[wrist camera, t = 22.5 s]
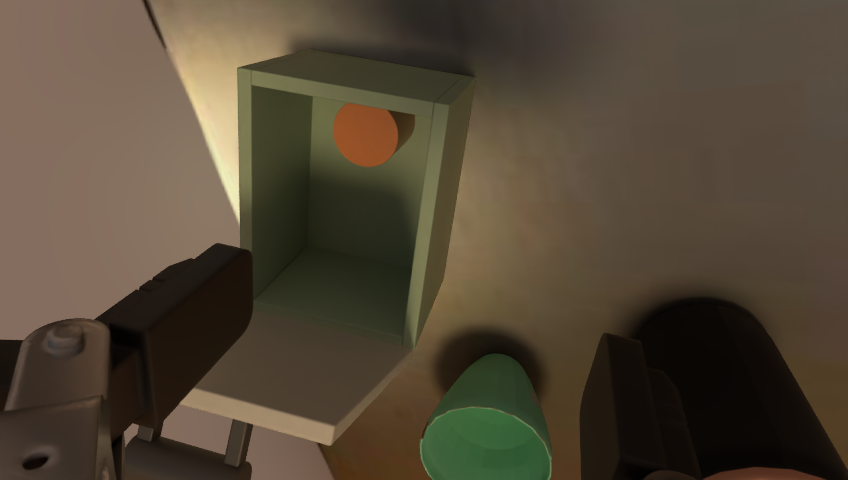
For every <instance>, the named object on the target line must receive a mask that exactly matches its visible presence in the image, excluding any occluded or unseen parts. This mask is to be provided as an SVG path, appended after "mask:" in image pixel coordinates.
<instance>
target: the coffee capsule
mask: <svg viewBox="0 0 848 480" xmlns="http://www.w3.org/2000/svg"><path fill="white" fill-rule="evenodd" d="M414 127H415V115H413V114H407V113H402V112H396V111H391V110H385V109H380V108H374V107H369V106H363V105H358V104H352V103H347V104H346V105H344V106H343V107H342V108H341V109H340V110H339V112H338V113H337V115H336V117H335V120H334V124H333V135H334V140H335V143H336V145H337V147H338V149H339V150H340V152H341V153H342V154H343V155H344V156H345V157H346V158H347V159H348V160H349V161H351V162H353V163H354V164H357V165H360V166H364V167H373V166H378V165H381V164H383V163H384V162H386V161H387V160H388V159H390V158H391V157H392V156H393V155H394V154H395V153H396V152H397V151H398V150H399V149H400V148H401V147H402V146H403V145H404V144H405V143H406V142H407V141H408V139H409V138H410V137H411V135H412V133H413V130H414Z"/></svg>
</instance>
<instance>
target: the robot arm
mask: <svg viewBox="0 0 848 480" xmlns="http://www.w3.org/2000/svg"><path fill="white" fill-rule="evenodd" d="M252 313H253V257H252V254H251V252H250V251H249V250H247V249H242V248H237V247H233V246H229V245H225V244H220V243H217V244H214V245H213V246H211V247H210V248H209V249H207V250H206V251H205V252H203V253H202V254H201V255H199V256H198V257H197V258H195V259H192V258H190V259H187V260H185V261H182V262H179V263H176V264H174V265H171V266H169V267H167V268H166V269H164V270H163V271H161V272H160V273H159V274H157V275H156V276H155V277H153V279H152V280H149V281H147V282H146V283H145V284H143V285H142V286H140V288H139V290H135V291H133V292H132V293H131V294H129V295H128V296H126V297H125V298H124V299H122V300H121V301H119V302H118V303H117V304H115V305H114V306H112V307H111V308H110V309H108V310H107V311H106V312H104V313H103V314H101V315H100V316H98V317H97V318H96V319H94V320H92V319H85V318H75V319H66V320H61V321H57V322H53V323H50V324H47V325H45V326H43V327H41V328H39V329H37V330H35V331H34V332H32V333H31V334H29V335H28V336H27V337H26V338H25V340H0V480H125V440H124V431H125V430H126V429H127V428H128V427H129V426H130V425H131V424H132V423H134V424H137V425H141V426H144V427H148V428H151V429H156V428H157V427H158V426H159V425H160V424H161V423H162V422H163V421H164V420H165V419H166V418H167V416H168V415H169V414H170V413H171V412H172V411H173V410H174V409H175V408H176V407H177V405H178V404H179V403H180V402H181V401H182V400H183V399H184V398H185V397H186V396H187V395H188V394H189V392H190V391H191V390H192V389H193V388H194V387H195V386H196V385H197V384H198V383H199V382H200V381H201V379H202V378H203V377H204V376H205V375H206V374H207V373H208V372H209V371H210V370H211V369H212V367H213V366H214V365H215V364H216V363H217V362H218V361H219V360H220V359H221V358H222V357H223V355H224V354H225V353H226V352H227V351H228V350H229V349H230V348H231V347H232V346H233V345H234V344H235V342H236V341H237V340H238V339H239V338H240V337H241V336H242V335H243V334H244V332H245V331H246V329H247V327H248V325H249V323H250V320H251V317H252ZM580 451H581V480H703V478H702V475H701V471H700V467H699V464H698V460H697V456H696V453H695V449H694V445H693V442H692V438H691V435H690V431H689V428H687V420H686V416H685V413H684V412H683V405H682V402H681V398H680V394H679V391H678V389H677V387H676V386H675V385H674V384H673V382H672V381H671V380H670V379H669V377H668V376H667V375H666V374H665V372H664V371H663V370H658V369H654V368H650V367H647V365H646V360H645V355H644V351H643V346H642V343H641V341H639V340H635V339H630V338H626V337H622V336H617V335H613V334H609V333H604V334H603V335H602V337H601V339H600V342H599V345H598V348H597V351H596V354H595V358H594V361H593V364H592V367H591V370H590V373H589V376H588V379H587V383H586V386H585V389H584V392H583V397H582V402H581V408H580Z"/></svg>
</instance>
